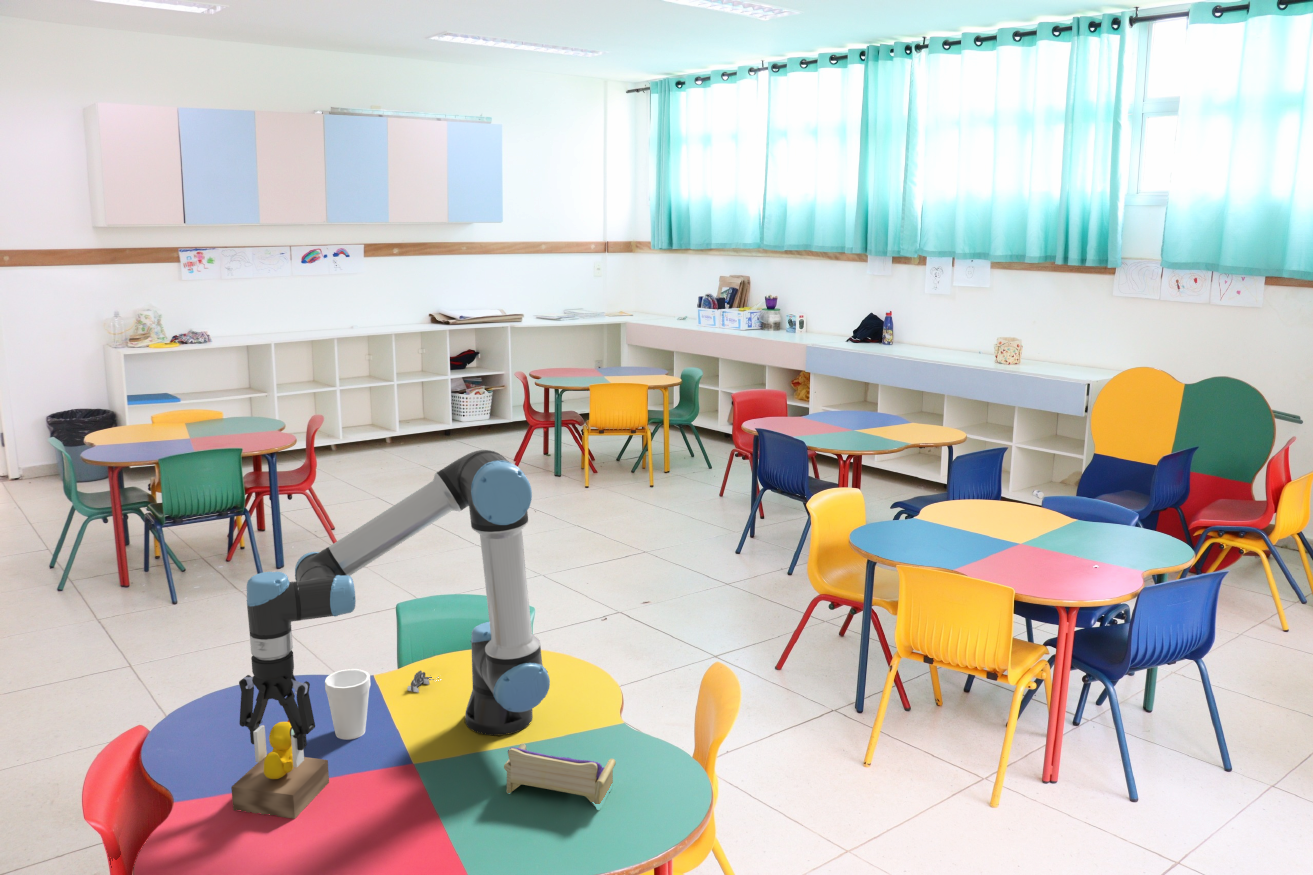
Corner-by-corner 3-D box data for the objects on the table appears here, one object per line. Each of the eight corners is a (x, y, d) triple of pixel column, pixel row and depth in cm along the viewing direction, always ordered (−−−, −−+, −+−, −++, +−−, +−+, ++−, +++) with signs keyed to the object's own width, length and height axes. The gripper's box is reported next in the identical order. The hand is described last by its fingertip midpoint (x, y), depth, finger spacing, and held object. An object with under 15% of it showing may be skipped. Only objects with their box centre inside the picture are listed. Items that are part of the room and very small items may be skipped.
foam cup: (378, 723, 231) (376, 670, 228) (363, 744, 222) (360, 689, 219) (338, 720, 232) (335, 667, 229) (321, 741, 223) (317, 686, 220)
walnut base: (329, 782, 207) (327, 759, 206) (294, 818, 195) (293, 795, 194) (270, 774, 210) (269, 752, 208) (233, 810, 197) (231, 786, 196)
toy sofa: (616, 788, 207) (616, 742, 205) (602, 812, 199) (603, 764, 196) (520, 772, 212) (519, 727, 210) (503, 794, 204) (502, 748, 202)
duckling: (279, 754, 207) (278, 710, 205) (305, 757, 207) (305, 712, 204) (255, 786, 196) (254, 739, 193) (283, 788, 196) (282, 742, 193)
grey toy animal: (422, 697, 244) (422, 680, 243) (399, 692, 247) (398, 675, 246) (455, 672, 258) (455, 655, 257) (433, 667, 260) (432, 651, 259)
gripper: (212, 655, 194) (221, 764, 199) (310, 666, 190) (317, 777, 195) (235, 639, 201) (244, 745, 206) (330, 649, 197) (337, 757, 202)
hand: (279, 760), depth 200 cm, fingers open, 7 cm apart
